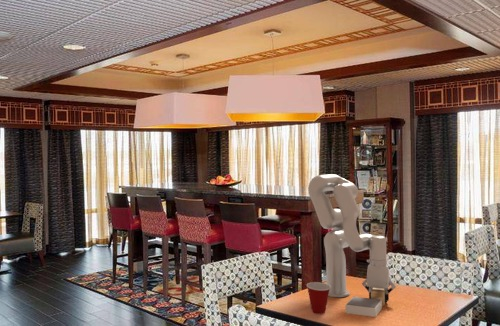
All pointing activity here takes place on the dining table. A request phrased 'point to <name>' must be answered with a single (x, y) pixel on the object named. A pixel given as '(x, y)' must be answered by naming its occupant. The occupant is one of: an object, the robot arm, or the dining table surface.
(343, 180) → the robot arm
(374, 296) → the oak cube
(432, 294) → the dining table surface
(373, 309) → the plinth
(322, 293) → the plastic cup
